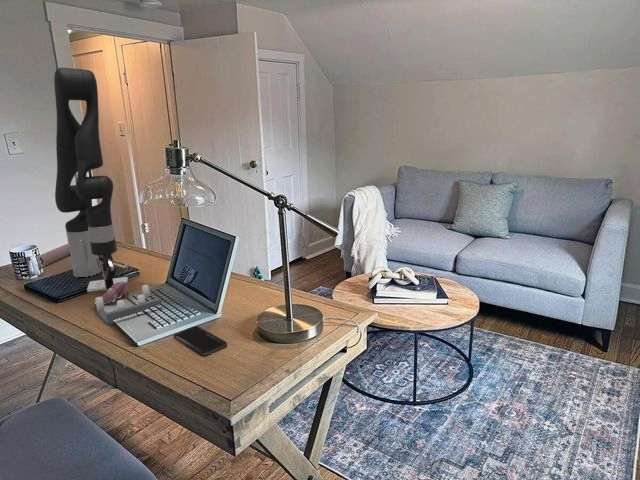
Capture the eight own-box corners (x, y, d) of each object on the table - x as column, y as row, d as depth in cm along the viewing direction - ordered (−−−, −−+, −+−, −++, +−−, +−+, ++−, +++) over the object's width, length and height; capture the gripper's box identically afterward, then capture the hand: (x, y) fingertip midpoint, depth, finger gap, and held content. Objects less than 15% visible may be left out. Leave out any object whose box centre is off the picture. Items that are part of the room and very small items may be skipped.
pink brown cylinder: (44, 257, 177) (76, 243, 194) (33, 255, 177) (66, 242, 194) (45, 268, 178) (76, 254, 195) (34, 266, 179) (67, 252, 196)
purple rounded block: (108, 310, 143) (114, 293, 141) (96, 303, 144) (102, 286, 141) (127, 298, 153) (133, 281, 150) (115, 291, 153) (121, 274, 150)
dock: (96, 313, 138) (94, 297, 137) (148, 298, 148) (147, 284, 147) (108, 324, 131) (105, 308, 129) (162, 308, 141) (160, 293, 139)
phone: (202, 355, 113) (171, 335, 123) (203, 359, 114) (172, 338, 123) (229, 343, 119) (197, 325, 129) (229, 347, 119) (197, 328, 129)
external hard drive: (127, 288, 158) (87, 293, 154) (128, 280, 165) (90, 284, 162) (126, 284, 158) (86, 289, 154) (127, 276, 165) (89, 280, 161)
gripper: (83, 236, 149) (91, 285, 154) (96, 245, 139) (104, 297, 144) (107, 232, 154) (114, 280, 159) (121, 240, 144) (128, 291, 149)
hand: (109, 288), depth 151 cm, fingers closed
